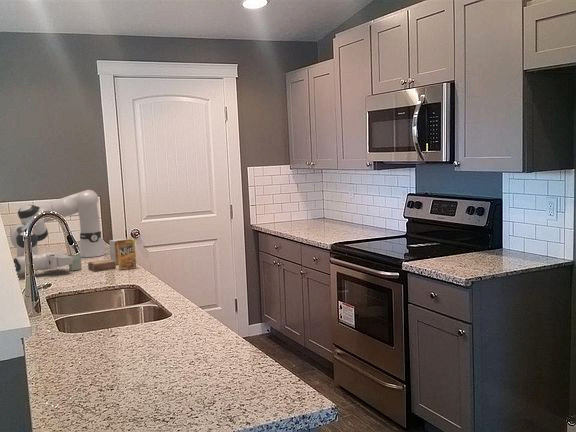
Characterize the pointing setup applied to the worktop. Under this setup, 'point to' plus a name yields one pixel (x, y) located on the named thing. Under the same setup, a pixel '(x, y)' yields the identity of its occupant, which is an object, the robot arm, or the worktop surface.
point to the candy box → (126, 254)
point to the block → (75, 263)
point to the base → (101, 265)
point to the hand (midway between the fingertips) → (76, 256)
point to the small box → (114, 250)
